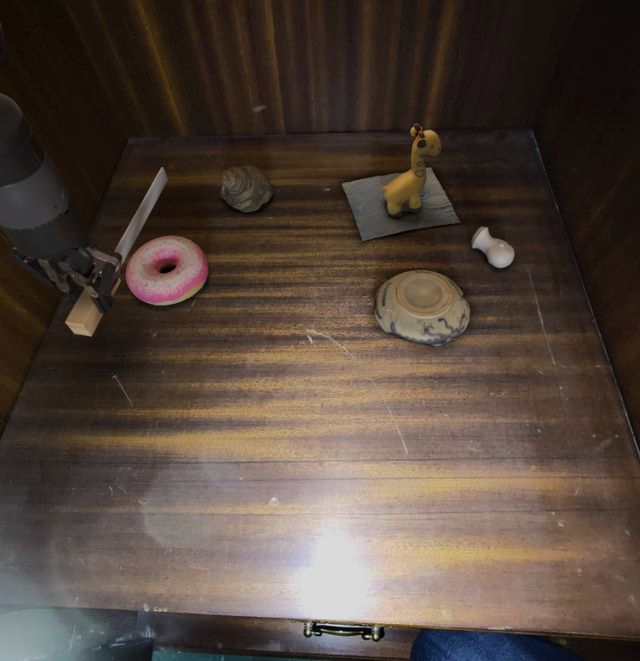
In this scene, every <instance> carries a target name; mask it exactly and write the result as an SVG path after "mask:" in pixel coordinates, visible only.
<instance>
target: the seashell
mask: <svg viewBox="0 0 640 661" xmlns="http://www.w3.org/2000/svg"><path fill="white" fill-rule="evenodd" d="M220 179H221V181H220V182H221V185H220V189H219V191H220V197H221V199H222V200H224V201H225V202H226V204H227V205H229V206H230V207H232V208H233V209H235V210H239V211H240V212H241V213H249V212H250V213H251V212H255V211H258V210H259V209H260V208H261V206H262V205H263V204H267V203H268V202H269V201H270V199H271V197H272V196H273V195H274V189H273V186H272V185H271V182H270V179H269V178H268V176H267V174H266V172H265V171H263V170H262V169H261V168H259V167H257V166H256V165H254V164H251V165H250V164H244V165H239V166H235V165H234V166H231V167H229V168H227V169H226V170H224V171H223V172H222V173H221V177H220Z"/></svg>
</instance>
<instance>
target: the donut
mask: <svg viewBox="0 0 640 661" xmlns="http://www.w3.org/2000/svg"><path fill="white" fill-rule="evenodd" d="M171 267H174V269H173V270H171V271H169V272H165V273H161V272H162V271H163V270H165V269H166V268H171ZM208 275H209V263H208V260H207V257H206V254H205V253H204V251H203V249H202V248H201V247H200V246H199V245H198V244H197V243H195V242H194V241H192V240H191V239H188V238H187V237H184V236H179V235H165V236H160V237H157V238H154V239H152V240H149V241H147V242H146V243H144V244H143V245H141V246H140V247H139V248H138V249H136V250H135V251H134V253H133V254H132V255H131V256H130V258H129V260H128V262H127V265H126V270H125V281H126V285H127V287H128V288H129V290H130V292H131V293H132V294H133V296H134V297H136V298H137V299H139V300H140V301H142V302H144V303H147V304H150V305H154V306H169V305H170V306H171V305H174V304H178V303H181V302H184V301H185V300H187V299H190V298H191V297H193V296H195V294H197V293H198V292H199V291H200V290H201V289H202V288H203V287H204V285H205V283H206V282H207V278H208Z"/></svg>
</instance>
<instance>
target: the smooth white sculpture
mask: <svg viewBox="0 0 640 661" xmlns="http://www.w3.org/2000/svg"><path fill="white" fill-rule="evenodd" d="M470 243H471V247H472V249H479V250H480V251H481V252H483V254H485V255H486V258H487V260H488V263H489V264H490V265H492V266H493V267H495V268H499V269H503V268H506V267H508V266H510V265H511V264H512V262H513V261H514V257H515V250H514V248H513V247H512V245H510V244H509V243H508V242H507V241H505V240H503V239H500V238H497V237H496V238H494V237H492V236H491V234H490V232H489V227H486V226H480V227H479V228H478V229H477V230H476V232H474V235H473V236H472V238H471V242H470Z"/></svg>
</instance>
